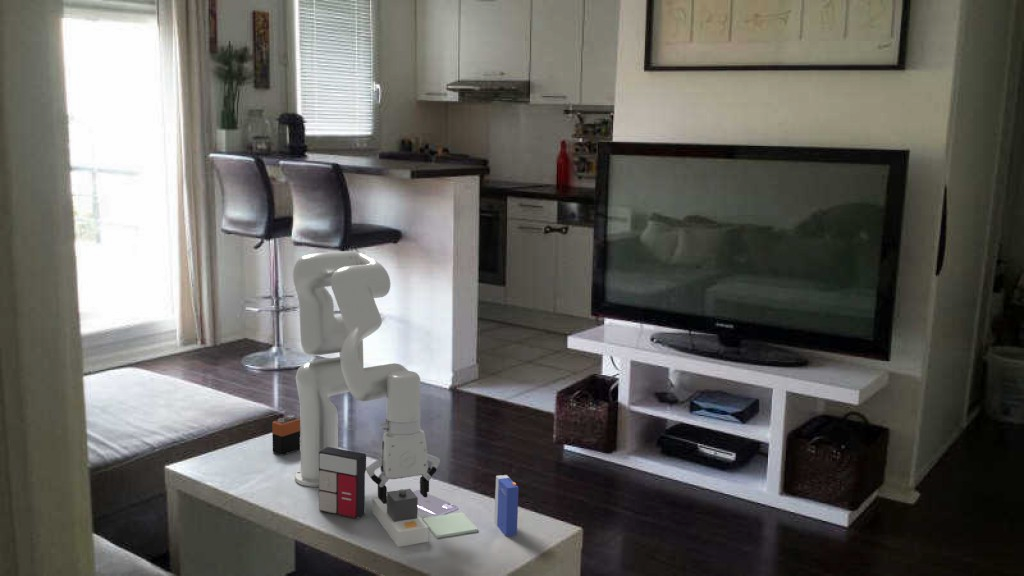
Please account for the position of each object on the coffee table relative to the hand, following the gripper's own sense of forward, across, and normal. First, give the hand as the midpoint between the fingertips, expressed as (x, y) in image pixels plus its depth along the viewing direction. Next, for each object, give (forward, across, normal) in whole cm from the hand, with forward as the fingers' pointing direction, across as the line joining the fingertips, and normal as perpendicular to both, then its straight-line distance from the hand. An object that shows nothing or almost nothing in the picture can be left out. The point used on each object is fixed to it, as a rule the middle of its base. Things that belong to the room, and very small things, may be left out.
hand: (403, 498), depth 208 cm
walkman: (+8, +22, -7) cm, 25 cm away
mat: (+8, +11, -1) cm, 13 cm away
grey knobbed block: (+6, 0, +1) cm, 6 cm away
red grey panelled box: (+8, -11, +15) cm, 20 cm away
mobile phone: (+8, +10, +13) cm, 18 cm away
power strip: (+8, 0, +3) cm, 8 cm away
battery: (+7, -15, +61) cm, 63 cm away
